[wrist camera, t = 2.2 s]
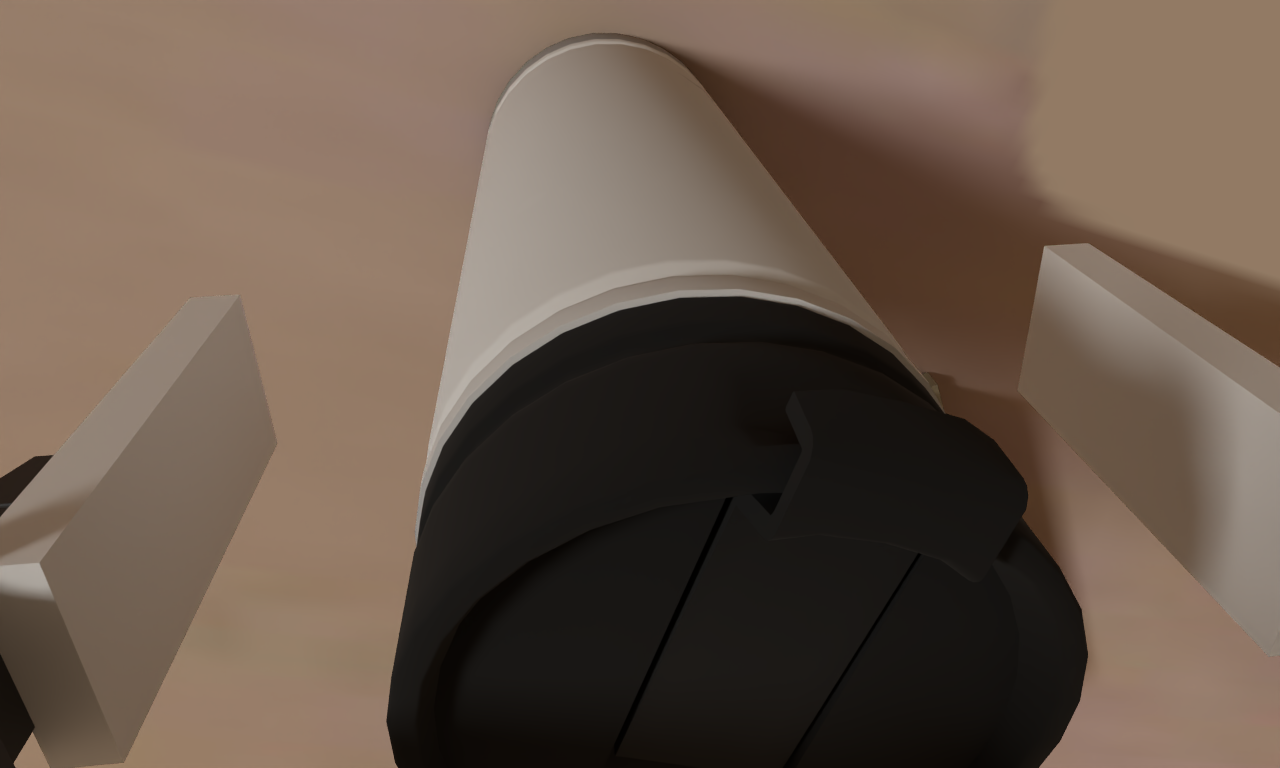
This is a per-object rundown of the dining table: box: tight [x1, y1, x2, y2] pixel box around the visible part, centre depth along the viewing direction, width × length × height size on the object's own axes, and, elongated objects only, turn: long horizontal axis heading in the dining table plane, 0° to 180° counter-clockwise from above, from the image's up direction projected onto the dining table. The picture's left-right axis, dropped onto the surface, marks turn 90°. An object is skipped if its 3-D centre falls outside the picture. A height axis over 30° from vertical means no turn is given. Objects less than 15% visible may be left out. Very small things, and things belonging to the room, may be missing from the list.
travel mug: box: [386, 33, 1088, 768], centre depth 16 cm, size 6×7×20 cm
